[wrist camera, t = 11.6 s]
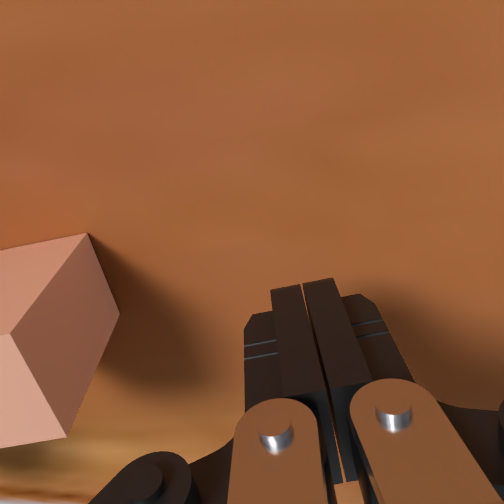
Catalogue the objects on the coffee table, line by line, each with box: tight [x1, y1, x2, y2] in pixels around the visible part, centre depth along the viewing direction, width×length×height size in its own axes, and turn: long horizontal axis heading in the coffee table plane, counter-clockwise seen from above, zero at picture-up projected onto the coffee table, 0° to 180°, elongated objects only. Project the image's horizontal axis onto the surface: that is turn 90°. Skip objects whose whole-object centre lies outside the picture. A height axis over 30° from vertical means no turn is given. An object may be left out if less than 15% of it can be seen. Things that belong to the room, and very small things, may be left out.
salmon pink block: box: [0, 233, 120, 448], centre depth 12 cm, size 3×3×5 cm
